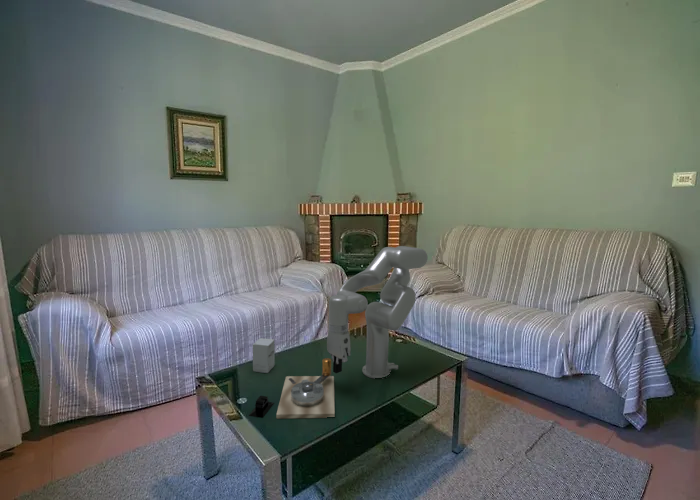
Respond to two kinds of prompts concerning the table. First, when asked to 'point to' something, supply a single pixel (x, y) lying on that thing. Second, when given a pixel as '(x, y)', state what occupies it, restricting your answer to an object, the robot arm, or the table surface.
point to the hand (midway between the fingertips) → (337, 371)
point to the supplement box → (263, 355)
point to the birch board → (317, 411)
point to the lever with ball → (311, 388)
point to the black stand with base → (261, 407)
